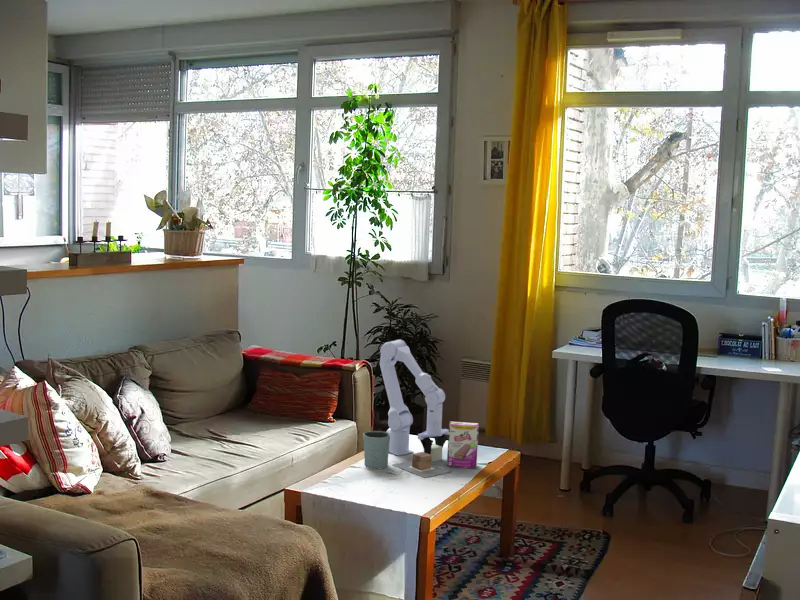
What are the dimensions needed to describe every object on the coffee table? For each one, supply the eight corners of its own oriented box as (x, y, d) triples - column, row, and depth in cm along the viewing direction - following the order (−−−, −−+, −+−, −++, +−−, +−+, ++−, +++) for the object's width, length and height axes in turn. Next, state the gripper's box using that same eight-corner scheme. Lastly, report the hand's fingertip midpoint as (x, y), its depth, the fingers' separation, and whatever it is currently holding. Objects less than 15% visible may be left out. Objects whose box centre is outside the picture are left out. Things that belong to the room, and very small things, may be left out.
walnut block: (411, 467, 315) (412, 453, 315) (422, 464, 319) (422, 451, 318) (420, 470, 312) (421, 457, 311) (431, 468, 315) (431, 455, 314)
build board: (392, 465, 318) (392, 464, 318) (418, 459, 326) (418, 458, 326) (424, 478, 304) (424, 477, 304) (450, 471, 313) (451, 470, 313)
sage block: (423, 458, 329) (424, 445, 328) (433, 456, 332) (433, 443, 331) (432, 461, 325) (432, 448, 324) (441, 459, 328) (442, 446, 328)
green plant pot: (380, 471, 310) (381, 439, 309) (356, 466, 315) (357, 434, 314) (394, 464, 319) (395, 433, 318) (371, 459, 324) (372, 428, 323)
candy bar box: (446, 467, 318) (448, 424, 317) (447, 463, 323) (449, 420, 322) (476, 469, 317) (478, 426, 316) (476, 465, 322) (478, 422, 321)
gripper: (427, 425, 319) (425, 460, 320) (455, 420, 328) (453, 454, 330) (414, 421, 324) (413, 456, 326) (442, 416, 334) (441, 450, 335)
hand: (432, 455), depth 328 cm, fingers closed on sage block, 5 cm apart
